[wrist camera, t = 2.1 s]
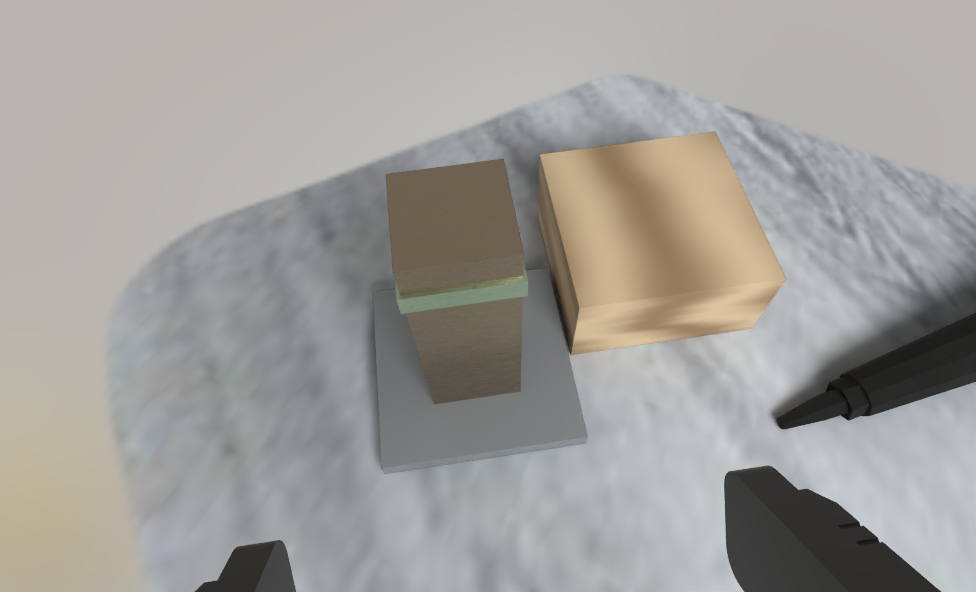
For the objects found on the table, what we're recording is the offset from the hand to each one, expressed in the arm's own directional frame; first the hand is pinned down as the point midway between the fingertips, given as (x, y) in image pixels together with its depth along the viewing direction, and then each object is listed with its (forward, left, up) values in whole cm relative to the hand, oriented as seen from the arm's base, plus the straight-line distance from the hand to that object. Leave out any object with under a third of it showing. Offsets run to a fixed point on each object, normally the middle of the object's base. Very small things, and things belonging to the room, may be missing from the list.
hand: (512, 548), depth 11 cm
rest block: (-13, -15, -18) cm, 27 cm away
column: (-2, -12, -17) cm, 21 cm away
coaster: (-2, -12, -18) cm, 21 cm away
